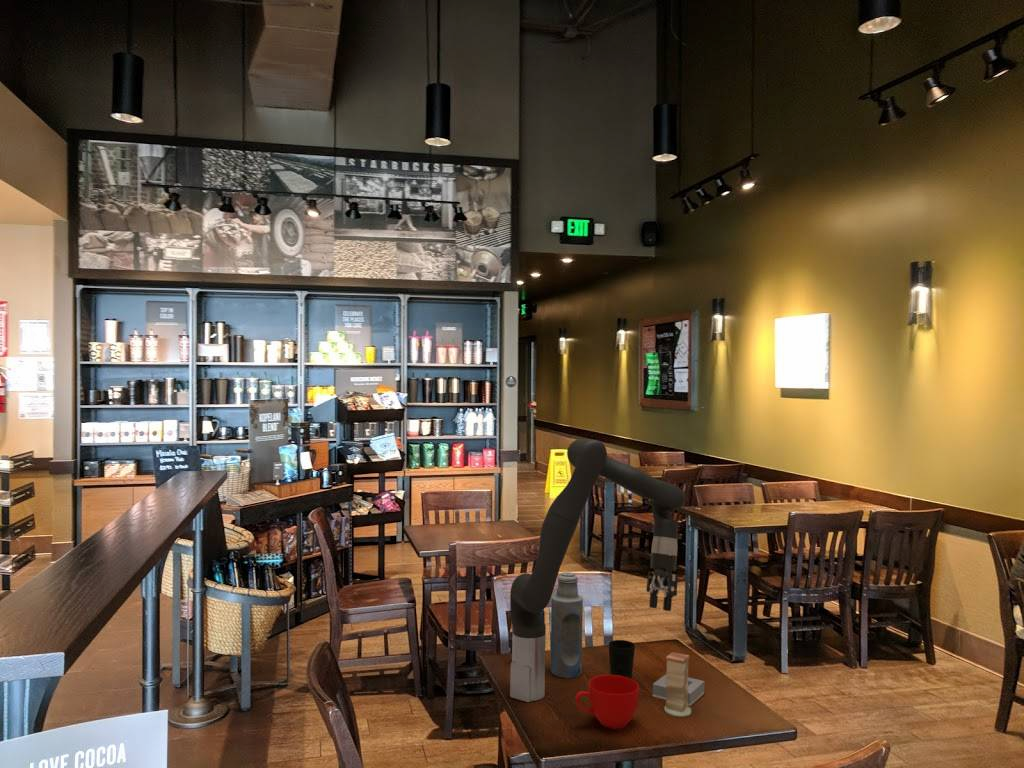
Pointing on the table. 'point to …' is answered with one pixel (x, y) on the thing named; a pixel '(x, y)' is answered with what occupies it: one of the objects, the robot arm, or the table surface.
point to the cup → (621, 657)
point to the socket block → (693, 689)
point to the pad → (679, 714)
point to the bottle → (566, 628)
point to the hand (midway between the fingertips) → (659, 609)
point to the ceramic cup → (612, 699)
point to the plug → (677, 682)
